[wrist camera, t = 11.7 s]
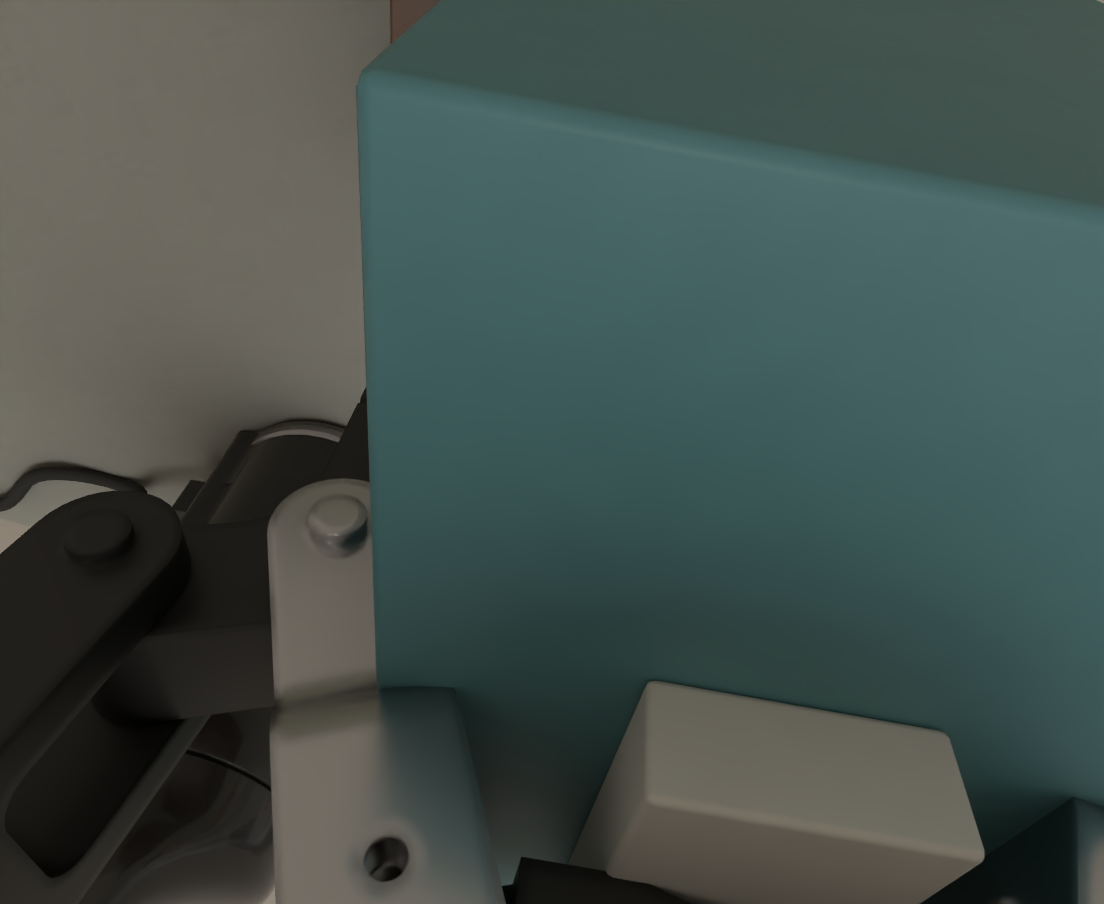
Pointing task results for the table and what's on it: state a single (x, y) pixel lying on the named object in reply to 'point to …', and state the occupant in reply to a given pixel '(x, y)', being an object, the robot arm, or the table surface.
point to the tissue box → (744, 427)
